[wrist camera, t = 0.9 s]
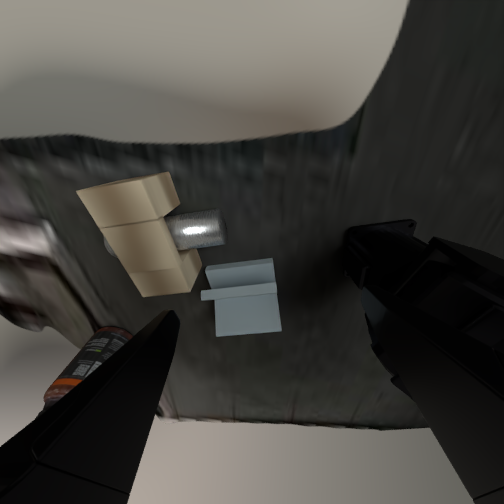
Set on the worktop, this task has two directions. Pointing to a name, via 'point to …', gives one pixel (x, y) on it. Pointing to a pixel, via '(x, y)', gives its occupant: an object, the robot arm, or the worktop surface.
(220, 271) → the v block
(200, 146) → the worktop surface
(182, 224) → the axle
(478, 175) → the worktop surface
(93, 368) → the supplement bottle
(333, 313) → the worktop surface
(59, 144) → the worktop surface
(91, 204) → the beam
